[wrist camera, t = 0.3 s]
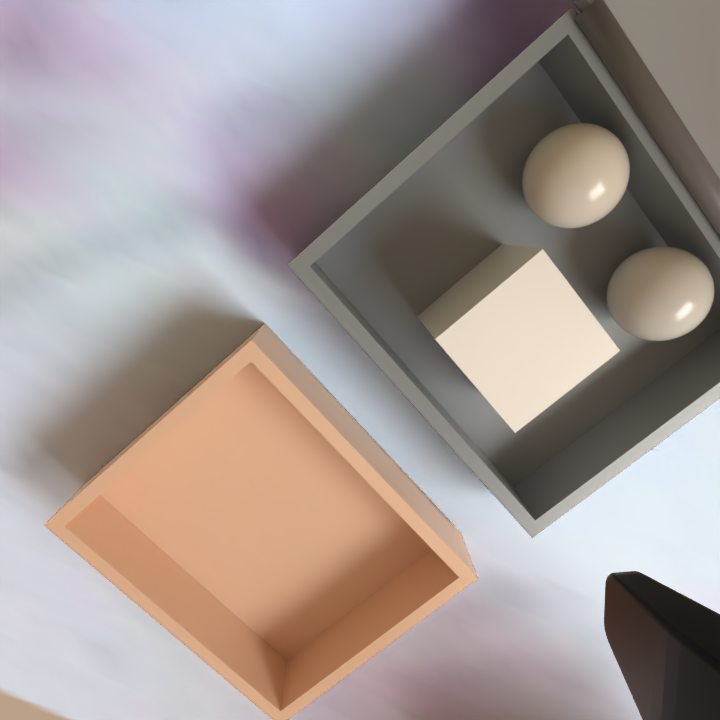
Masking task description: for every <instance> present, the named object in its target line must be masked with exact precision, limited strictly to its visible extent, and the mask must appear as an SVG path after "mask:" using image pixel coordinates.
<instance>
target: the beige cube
mask: <svg viewBox="0 0 720 720" xmlns="http://www.w3.org/2000/svg"><path fill="white" fill-rule="evenodd" d="M417 317H418V318H419V320H420V321H421V322H422V323H423V325H424V326H425V327H426V328H427V330H428V331H429V332H430V334H431V335H432V336H433V337H434V339H435V340H436V341H437V342H438V343H439V345H440V346H441V347H442V348H443V349H444V350H445V352H446V353H447V354H448V355H449V356H450V357H451V359H452V360H453V361H454V362H455V363H456V364H457V366H458V367H459V368H460V369H461V370H462V371H463V373H464V374H465V375H466V376H467V377H468V378H469V380H470V381H471V382H472V383H473V384H474V385H475V387H476V388H477V389H478V390H479V391H480V392H481V394H482V395H483V396H484V397H485V398H486V400H487V401H488V402H489V403H490V404H491V405H492V407H493V408H494V409H495V410H496V411H497V412H498V414H499V415H500V416H501V417H502V418H503V419H504V421H505V422H506V423H507V424H508V425H509V426H510V428H511V429H512V430H513V431H514V432H515V433H516V432H517V431H518V430H520V429H521V428H522V427H523V426H525V425H526V424H527V423H529V422H530V421H531V420H532V419H534V418H535V417H536V416H538V415H539V414H540V413H541V412H543V411H544V410H545V409H546V408H548V407H549V406H550V405H552V404H553V403H554V402H555V401H557V400H558V399H559V398H561V397H562V396H563V395H564V394H566V393H567V392H568V391H569V390H571V389H572V388H573V387H575V386H576V385H577V384H578V383H580V382H581V381H582V380H583V379H585V378H586V377H587V376H589V375H590V374H591V373H592V372H594V371H595V370H596V369H598V368H599V367H600V366H601V365H603V364H604V363H605V362H606V361H608V360H609V359H610V358H612V357H613V356H614V355H615V354H617V353H618V352H619V351H620V350H619V348H618V347H617V346H616V345H615V343H614V342H613V341H612V339H611V338H610V337H609V335H608V334H607V333H606V331H605V330H604V329H603V327H602V326H601V325H600V323H599V322H598V321H597V320H596V318H595V317H594V316H593V314H592V313H591V312H590V310H589V309H588V308H587V306H586V305H585V304H584V302H583V301H582V300H581V299H580V297H579V296H578V295H577V293H576V292H575V291H574V289H573V288H572V287H571V285H570V284H569V283H568V281H567V280H566V279H565V278H564V276H563V275H562V274H561V272H560V271H559V270H558V268H557V267H556V266H555V264H554V263H553V262H552V260H551V259H550V258H549V256H548V255H547V254H546V253H545V251H544V250H543V249H538V248H531V247H523V246H516V245H508V244H502V245H501V246H499V247H498V248H497V249H496V250H495V251H493V252H492V253H491V254H490V255H489V256H488V257H486V258H485V259H484V260H483V261H482V262H481V263H479V264H478V265H477V266H476V267H475V268H473V269H472V270H471V271H470V272H469V273H468V274H466V275H465V276H464V277H463V278H462V279H460V280H459V281H458V282H457V283H456V284H455V285H453V286H452V287H451V288H450V289H449V290H448V291H446V292H445V293H444V294H443V295H442V296H440V297H439V298H438V299H437V300H436V301H435V302H433V303H432V304H431V305H430V306H429V307H428V308H426V309H425V310H424V311H423V312H422V313H420V314H419V315H418V316H417Z"/></svg>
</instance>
